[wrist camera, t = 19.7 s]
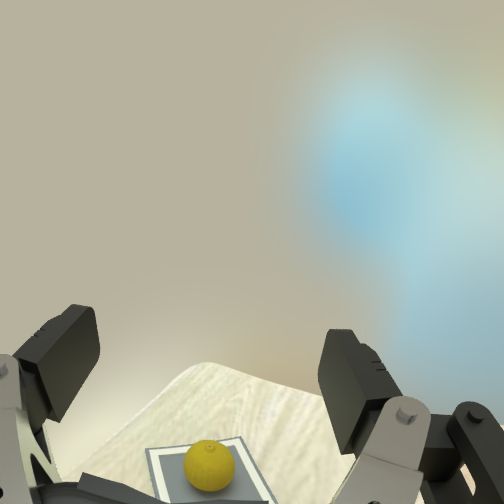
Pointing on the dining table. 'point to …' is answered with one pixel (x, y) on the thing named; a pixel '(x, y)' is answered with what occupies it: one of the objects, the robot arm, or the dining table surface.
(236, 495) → the marked board
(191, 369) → the dining table surface
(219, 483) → the lemon
